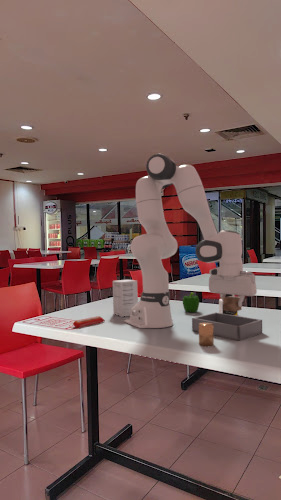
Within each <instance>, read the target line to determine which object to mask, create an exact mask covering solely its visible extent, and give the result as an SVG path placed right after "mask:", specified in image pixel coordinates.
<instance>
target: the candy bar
mask: <svg viewBox="0 0 281 500" xmlns="http://www.w3.org/2000/svg"><path fill="white" fill-rule="evenodd" d="M105 321H106V320H105V319H104V318H103V317H101V316H99V315H97V316H91V317H88V318H86V317H85V318H82V319H77V320H75V321H73V323H72V325H73V326H74V327H75V328H76V329H79V327H80V328H85V327H88V326H89V325H90V326H93V324H94V325H98V324H97V323H99V324H101V322H103V323H104V322H105ZM84 326H85V327H84Z"/></svg>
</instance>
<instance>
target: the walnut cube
mask: <svg viewBox="0 0 281 500" xmlns="http://www.w3.org/2000/svg"><path fill="white" fill-rule="evenodd" d="M239 299H240V298H238V296H235V295H234V296H229V297H224V298H223V309H224V310H226V311H233V312H235V311H238V312H239V311H242V310H243V309H242V307H237V306H236V305H237V304H236V302H238V301H239Z"/></svg>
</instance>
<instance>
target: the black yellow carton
mask: <svg viewBox="0 0 281 500" xmlns="http://www.w3.org/2000/svg"><path fill="white" fill-rule="evenodd" d="M229 296H234V297H235V295H231V294H226V296H225V297H229ZM238 312H239V311H235V312H233V311H226V310H224V309H223V301H222V299H221V298H219V300H218V313H222V314H228V315H234V316H239V315H238Z"/></svg>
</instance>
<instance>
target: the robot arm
mask: <svg viewBox="0 0 281 500" xmlns="http://www.w3.org/2000/svg"><path fill="white" fill-rule="evenodd" d="M145 169H146V172H147V175H146V176H143V177H140V178H139V179H138V180H137V181H136V184H135V202H136V210H137V219H138V221H139V223H140V225H141V226H142V227H143V228H144V230H145V232H146V233H143V234H141V235H137V236H135V237H134V238H133V239H132V241H131V243H130V251H131V254H132V256H133V257H134V258H135V259H136V261H137V262H138V264H139V267H140V271H141V276H142V292H139V293H138V296H139V297H140V299H139V300H138V303H137V304H136V305H135V306H133V307H132V308H131V310H130V316H129V317H128V318H125V319H124V323H126V324H129V325H132V326H133V327H136V328H139V329H160V328H169V327H171V326H173V325H174V322H173V321H174V320H173V318H172V312H171V304H170V300H171V292H170V290H169V288H170V287H169V286H170V285H169V273H168V271H167V270H166V269H165V268H164V265H163V261H162V260H164V259H168V258H170V257H172V256H174V255H175V254H176V253H177V251H178V246H179V245H178V241H177V239H176V238H175V236H173V234H172V233H171V232H170V229H169V227H168V224H167V222H166V219H165V213H164V208H163V207H164V206H163V201H162V193H161V192H162V189H163V190H164V189H166V188H168V187H169V186H172V185H173V186H174V188H175V191H176V194H177V198H178V200H179V203H180V205H181V207H182V209H183V210H184V212H186V213H187V214H189V215H191V217H192V218H194V219H195V220H196V222H197V223H198V226H199V228H200V231H201V234H202V237H203V240H201V241H198V243H197V245H196V246H195V255H196V258H197V259H198V260H199V261H201V262H202V263H207V264H211V263H212V264H213V263H219V266H218V267H213V268H212V269H210V270H209V277H208V290H209V292H210V293H213V294H219V297H220V299H222V301H223V298H224V297H225V296H226V294H231V295H234V296H237V297H238V298H240V299H239V301H238V302H236V304H237V305H236V306H237V307H241V308H242V307H243V302H244V301H245V298H246V297H254V296H256V295H257V292H258V291H257V285H256V275H255V274H254V273H253V272H252V271H244V270H243V268H244V267H243V266H244V263H243V262H244V261H243V260H242V254H243V244H242V243H243V242H242V236H241V234H240V233H239V232H238V231H235V230H229V229H222V230H220V231H219V232H218V229H217V227H216V225H215V222H214V219H213V216H212V213H211V211H210V207H209V203H208V200H207V195H206V192H205V188H204V185H203V182H202V180H201V177H200V175H199V172H198V171H197V170H196V168H195V167H194V165H191V164H182V165H180V166H178V164H177V163H176V162H175V161H174V160H173V159H171V158H170V157H169V156H167V155H165V154H162V153H156V154H153V155H151V156H150V157H149V158H148V160H147V162H146V166H145Z"/></svg>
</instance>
